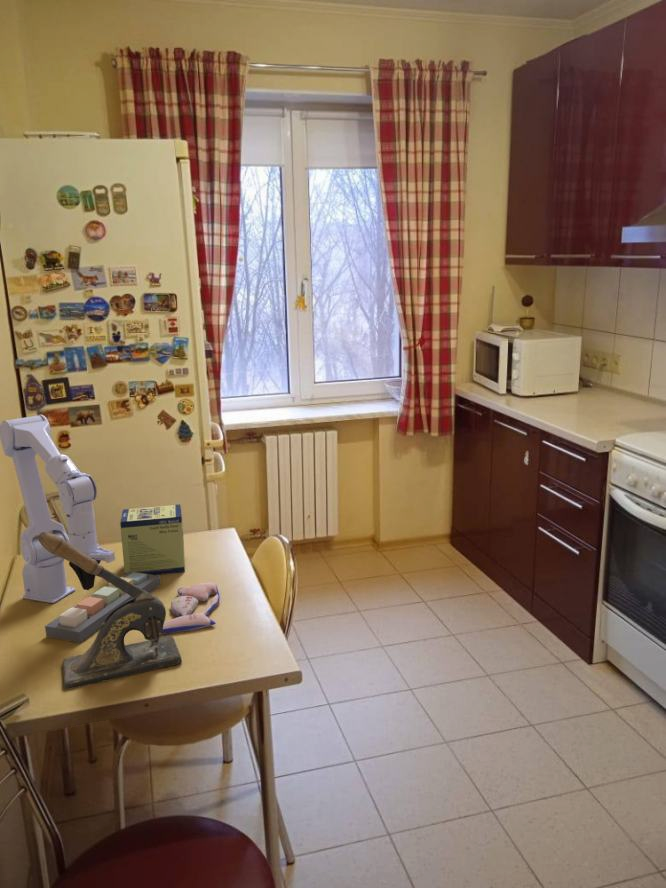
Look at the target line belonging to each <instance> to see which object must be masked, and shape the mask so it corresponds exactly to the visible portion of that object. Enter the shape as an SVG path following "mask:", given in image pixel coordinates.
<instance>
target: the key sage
mask: <svg viewBox="0 0 666 888" xmlns="http://www.w3.org/2000/svg"><path fill="white" fill-rule="evenodd" d="M92 595H93V597H95V598H101V599H103V603H104V604H106V605H109V604H111V603H112V602H114V601H115V600H117V599H118V598H119V589H118V588H111V587H106V586H103V587H101V588H100V589H98V590H96V591H95V592H94V593H92Z"/></svg>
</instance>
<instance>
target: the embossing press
mask: <svg viewBox="0 0 666 888" xmlns="http://www.w3.org/2000/svg"><path fill="white" fill-rule="evenodd" d="M50 533H51V532H42V533H41V534H38V535H37V537H38V539H39V542H40V543H41V545H42V546H43V547H44V548H45V549H46V550H47V551H49V552H50V553H52V554H54V555H56V556H58V557H61V558H63V559H64V561H67V562H71V563H73V564H75V565H77V566H79V567H80V568H82V569H83V570H84V571H85V572H87V573H90V574H93V575H96V576H95V577H99V578H101V579H102V580H104V581H106V582H107V583H108V584H109V583H111V584H112V585H114V586H115V587H117V588H119V589H121V590H122V591H123V592H125V593H127V594H128V595H130V596H132V597H133V599H131V600H128V601H127V602H125V603H123V604H122V605H120V606H118V607H117V608H116V609H114V610H113V611H112V612H111V613H110V614H109V615H108V617H107V618H106V619H105V621H104V622H103V623H102V624H101V628H100V629H99V630H98V631H97V632H98V633H97V635H96V637H95V639H94V641H93V643H92V644H91V645H90V647H89V648H88V649H87V650H86V651H85V652H84V653H82V654H77V655H73V656H71V657H65V658H63V659H62V666H61V667H62V673H63V688H64V690H69V689H70V690H71V689H75V687H76V688H80V687H85V686H88V684H89V685H94V684H97V683H98V684H99V683H102V682H107V681H111V680H115V679H116V680H117V679H120V678H124V677H128V676H132V675H136V674H140V673H146V672H149V671H153V670H157V669H162V668H167V667H170V666H174V665H178V664H182V662H183V661H182V656H181V653H180V652H179V648H178V645H177V644H176V641H175V638H174V636H173V635H167V636H163V635H164V634H163V625H164V622H166V617H167V616H166V615H167V614H166V613H167V611H166V607H165V605H164V603H163V602H162V601H161V600H160V599H159V598H158V597H156V596H153V594H152V593H151V592H150V593H149V592H147V591H145V590H143V589H140V588H138V587H136V586H135V585H133V584H131V583H129V582H127V581H126V580H124V579H122V578H120V577H121V576H119V575H117V574H115V573H114V572H112V571H110V570H108V569H106V568H105V567H104V566H103V565H100V564H98V562H97V561H96V560H94V559H92V558H90V557H88V556H86V555H85V554H83V553H81V552H80V551H78V550H77V549H75V548H74V547H73V546H71V545H70V544H69V543H68V542H66V541H65V540H64V539H62V538H60V537H59V536H56V535H54V534H50ZM132 631H138V632H140V633H141V634H142V635H143V638H144V639H145V640H143V641H139V642H134V643H129V644H125V637H126V635H127V634H128V633H129V632H132ZM79 686H80V687H79Z"/></svg>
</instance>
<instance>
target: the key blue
mask: <svg viewBox="0 0 666 888" xmlns="http://www.w3.org/2000/svg"><path fill="white" fill-rule="evenodd" d="M125 578H130V579H133V584H136V585H139V584H140V583H141V582H143V581H144V580H146V579H147V574H142V573H135V572H133V573H131V574H130V575H128V576H127V577H125Z"/></svg>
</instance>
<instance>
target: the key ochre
mask: <svg viewBox="0 0 666 888" xmlns="http://www.w3.org/2000/svg"><path fill="white" fill-rule="evenodd" d="M119 577H120V578H122V579H124V580H126V581H127V582H129V583H131V584H133V579H130V578H123V577H122V576H119ZM108 585H109V587H111V588H117V587H115V586H114V585H112V584H111V583H109V582H108ZM118 589H119V588H118ZM119 594H123V595H124V594H125V592H123V591H122V590H121V589H119Z"/></svg>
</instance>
